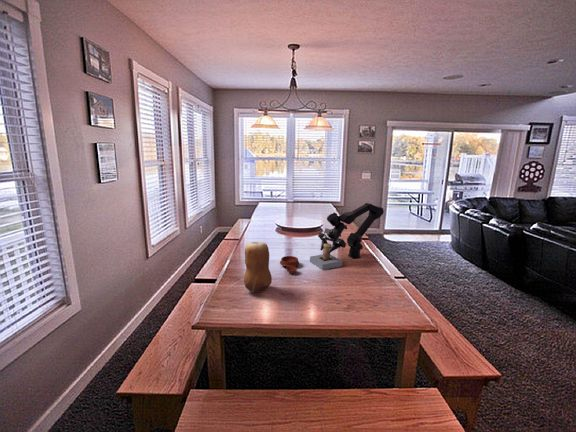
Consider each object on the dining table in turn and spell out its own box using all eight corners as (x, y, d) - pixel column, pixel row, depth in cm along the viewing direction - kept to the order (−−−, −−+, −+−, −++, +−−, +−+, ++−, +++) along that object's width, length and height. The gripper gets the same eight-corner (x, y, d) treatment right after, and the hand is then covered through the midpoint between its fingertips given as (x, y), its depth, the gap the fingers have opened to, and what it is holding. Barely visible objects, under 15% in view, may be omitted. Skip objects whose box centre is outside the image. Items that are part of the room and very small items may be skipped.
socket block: (328, 258, 190) (328, 253, 189) (341, 266, 178) (342, 260, 177) (309, 261, 184) (310, 256, 183) (322, 270, 172) (322, 264, 171)
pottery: (297, 262, 183) (298, 255, 182) (302, 275, 164) (302, 268, 163) (279, 262, 182) (279, 255, 181) (281, 276, 163) (281, 268, 162)
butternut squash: (257, 281, 155) (258, 236, 149) (277, 290, 146) (277, 242, 141) (237, 291, 144) (237, 242, 138) (257, 300, 136) (257, 249, 130)
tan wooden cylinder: (328, 262, 183) (330, 243, 180) (330, 265, 179) (332, 246, 176) (320, 262, 183) (322, 243, 179) (322, 265, 178) (324, 246, 175)
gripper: (320, 220, 184) (307, 240, 180) (344, 226, 171) (331, 248, 166) (328, 230, 191) (315, 249, 187) (351, 237, 178) (338, 258, 173)
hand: (324, 251), depth 178 cm, fingers open, 6 cm apart
